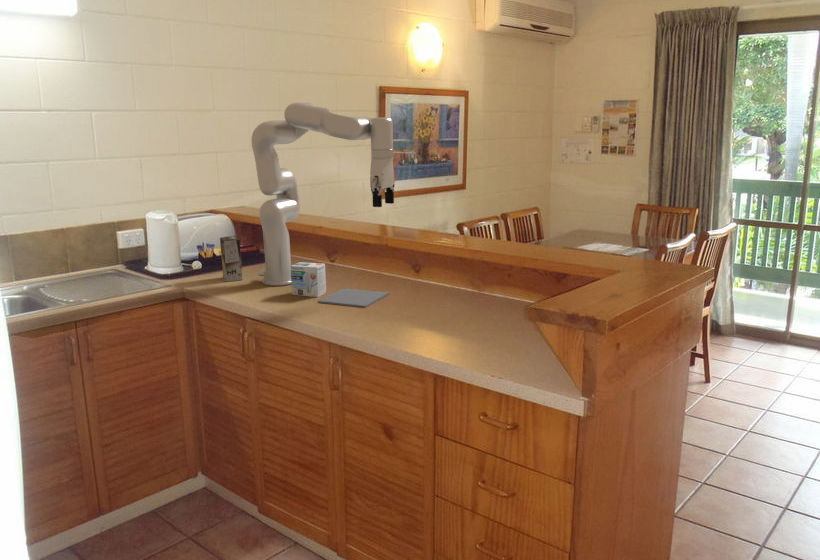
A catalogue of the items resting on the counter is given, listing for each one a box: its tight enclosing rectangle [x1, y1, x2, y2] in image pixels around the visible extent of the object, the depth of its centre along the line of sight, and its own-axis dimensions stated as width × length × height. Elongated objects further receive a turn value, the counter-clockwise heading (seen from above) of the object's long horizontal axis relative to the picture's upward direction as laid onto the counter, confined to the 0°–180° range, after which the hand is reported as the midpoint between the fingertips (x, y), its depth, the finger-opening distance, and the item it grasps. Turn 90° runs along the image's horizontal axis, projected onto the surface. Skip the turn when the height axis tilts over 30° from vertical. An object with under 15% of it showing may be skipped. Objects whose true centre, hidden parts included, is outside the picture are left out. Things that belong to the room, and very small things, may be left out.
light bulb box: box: [290, 261, 327, 298], centre depth 242 cm, size 11×7×11 cm, turn 71°
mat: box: [317, 288, 389, 309], centre depth 236 cm, size 18×18×1 cm
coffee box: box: [219, 235, 244, 282], centre depth 266 cm, size 9×6×16 cm
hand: (383, 205), depth 236 cm, fingers open, 9 cm apart
